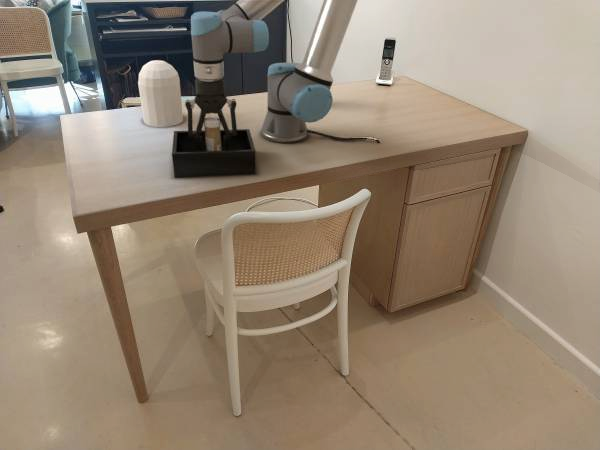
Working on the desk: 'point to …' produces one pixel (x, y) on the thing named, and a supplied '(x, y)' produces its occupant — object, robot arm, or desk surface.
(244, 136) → the black open box
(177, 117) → the container
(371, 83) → the desk surface
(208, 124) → the sprinkles bottle
